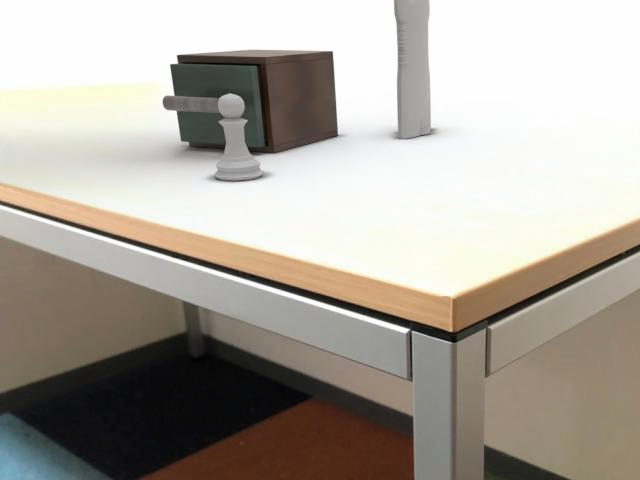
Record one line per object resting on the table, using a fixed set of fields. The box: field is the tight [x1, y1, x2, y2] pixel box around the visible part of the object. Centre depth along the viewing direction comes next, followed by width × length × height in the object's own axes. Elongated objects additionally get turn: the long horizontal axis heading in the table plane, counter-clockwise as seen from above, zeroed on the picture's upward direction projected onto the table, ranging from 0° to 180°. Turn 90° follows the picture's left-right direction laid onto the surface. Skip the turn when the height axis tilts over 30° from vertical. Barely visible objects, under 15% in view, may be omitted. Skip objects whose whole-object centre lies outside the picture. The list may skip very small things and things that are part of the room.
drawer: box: [162, 63, 268, 147], centre depth 90 cm, size 18×11×9 cm, turn 157°
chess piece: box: [214, 93, 264, 182], centre depth 74 cm, size 5×5×8 cm
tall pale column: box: [393, 0, 432, 140], centre depth 97 cm, size 11×4×22 cm, turn 162°
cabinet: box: [176, 49, 339, 154], centre depth 94 cm, size 15×13×11 cm
